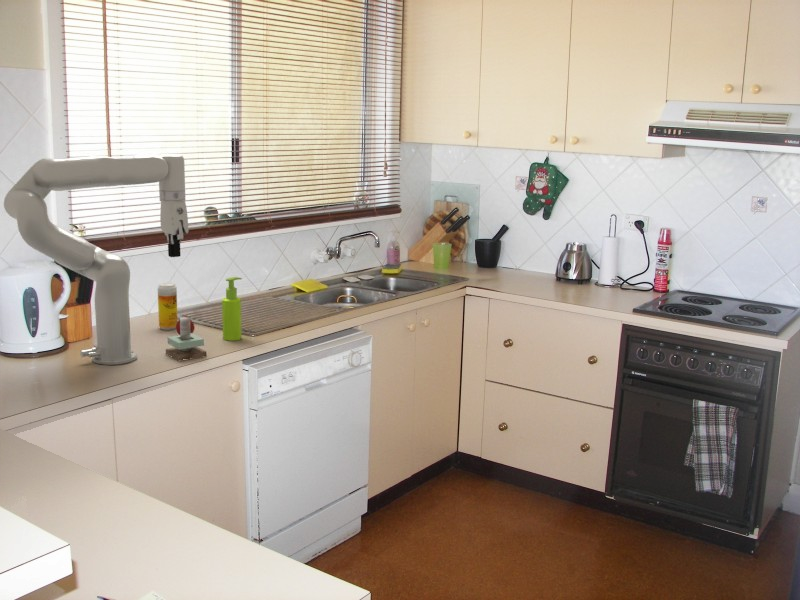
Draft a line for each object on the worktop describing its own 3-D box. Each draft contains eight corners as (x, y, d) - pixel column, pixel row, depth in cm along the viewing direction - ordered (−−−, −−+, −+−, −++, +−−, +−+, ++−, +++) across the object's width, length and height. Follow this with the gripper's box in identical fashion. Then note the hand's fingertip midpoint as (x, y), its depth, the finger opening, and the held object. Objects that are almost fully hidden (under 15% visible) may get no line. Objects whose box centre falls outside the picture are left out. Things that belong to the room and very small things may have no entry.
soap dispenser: (247, 337, 284) (246, 277, 280) (232, 341, 279) (231, 280, 274) (234, 334, 288) (233, 275, 283) (219, 338, 282) (217, 278, 277)
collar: (179, 349, 257) (179, 343, 257) (167, 343, 263) (167, 337, 263) (203, 345, 262) (203, 339, 262) (192, 339, 268) (191, 333, 268)
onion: (177, 341, 278) (176, 317, 276) (175, 336, 283) (174, 312, 281) (196, 340, 280) (195, 316, 278) (193, 335, 285) (192, 311, 283)
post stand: (178, 361, 257) (177, 323, 255) (165, 353, 264) (164, 317, 261) (206, 356, 263) (205, 319, 260) (193, 349, 270) (192, 313, 267)
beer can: (172, 330, 290) (171, 287, 286) (155, 329, 291) (154, 285, 287) (180, 326, 295) (179, 283, 292) (164, 324, 297) (162, 282, 293)
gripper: (195, 198, 256) (197, 259, 260) (173, 192, 267) (175, 251, 271) (171, 199, 251) (173, 261, 255) (150, 194, 262) (152, 253, 267)
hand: (174, 256), depth 263 cm, fingers closed
